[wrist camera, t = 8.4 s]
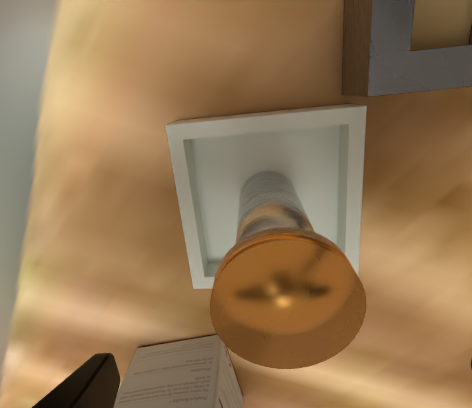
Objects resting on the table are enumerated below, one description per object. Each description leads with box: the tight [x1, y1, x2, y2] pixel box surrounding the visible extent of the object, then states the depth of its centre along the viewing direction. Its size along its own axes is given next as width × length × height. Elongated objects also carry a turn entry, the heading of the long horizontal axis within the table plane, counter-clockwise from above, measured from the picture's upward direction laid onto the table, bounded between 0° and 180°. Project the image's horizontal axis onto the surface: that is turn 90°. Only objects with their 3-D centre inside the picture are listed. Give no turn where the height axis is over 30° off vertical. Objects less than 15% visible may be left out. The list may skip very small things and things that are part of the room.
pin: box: [210, 171, 366, 369], centre depth 14 cm, size 5×5×10 cm
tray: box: [165, 104, 367, 289], centre depth 18 cm, size 10×10×2 cm
